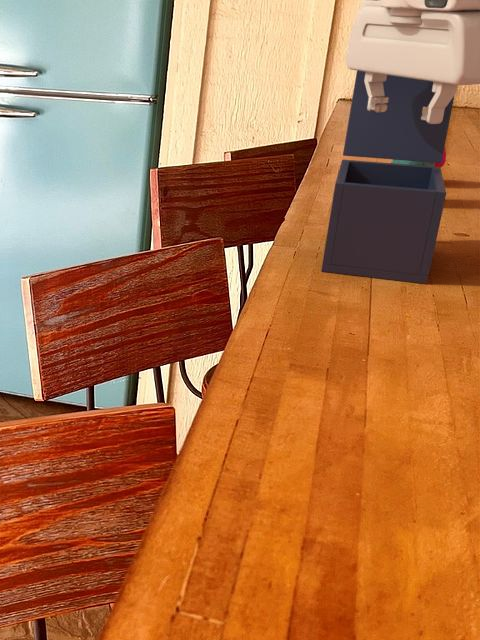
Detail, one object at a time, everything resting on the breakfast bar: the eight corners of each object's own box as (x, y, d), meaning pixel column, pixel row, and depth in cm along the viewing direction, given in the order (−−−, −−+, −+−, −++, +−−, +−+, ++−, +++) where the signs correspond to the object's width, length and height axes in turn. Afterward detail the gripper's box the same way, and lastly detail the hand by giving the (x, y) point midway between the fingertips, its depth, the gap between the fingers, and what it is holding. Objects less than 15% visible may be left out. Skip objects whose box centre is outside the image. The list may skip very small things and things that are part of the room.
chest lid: (468, 24, 110) (467, 25, 110) (365, 21, 114) (365, 22, 115) (441, 163, 114) (440, 163, 115) (342, 155, 118) (342, 155, 119)
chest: (426, 284, 105) (446, 192, 101) (321, 271, 109) (335, 183, 105) (423, 249, 119) (440, 166, 114) (329, 239, 123) (342, 159, 118)
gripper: (342, -10, 108) (326, 107, 113) (467, -8, 90) (441, 131, 95) (386, -11, 109) (368, 104, 115) (518, -9, 91) (489, 128, 97)
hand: (402, 117), depth 105 cm, fingers open, 8 cm apart
